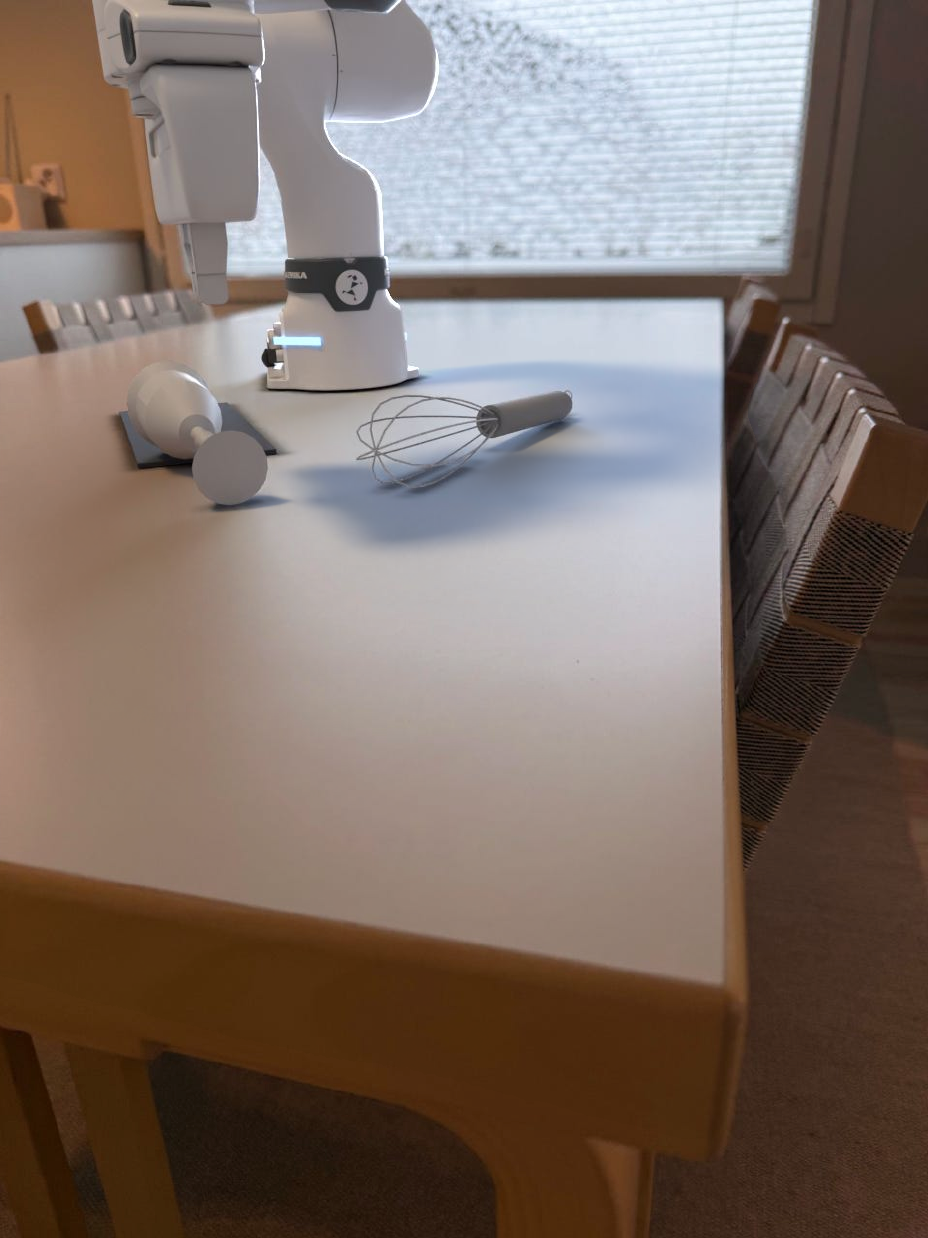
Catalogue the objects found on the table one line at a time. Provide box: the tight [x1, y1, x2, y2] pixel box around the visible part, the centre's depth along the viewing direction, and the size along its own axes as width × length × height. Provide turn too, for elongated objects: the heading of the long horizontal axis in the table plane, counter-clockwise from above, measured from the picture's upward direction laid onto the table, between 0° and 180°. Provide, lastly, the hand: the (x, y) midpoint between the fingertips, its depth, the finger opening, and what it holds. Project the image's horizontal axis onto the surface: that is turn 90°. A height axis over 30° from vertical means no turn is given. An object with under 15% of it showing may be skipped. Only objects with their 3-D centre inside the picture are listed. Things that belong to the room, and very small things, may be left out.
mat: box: [118, 401, 278, 469], centre depth 86 cm, size 26×11×1 cm, turn 22°
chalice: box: [126, 360, 269, 506], centre depth 68 cm, size 7×7×18 cm
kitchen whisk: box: [355, 389, 573, 488], centre depth 75 cm, size 6×34×6 cm, turn 151°
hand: (211, 303), depth 58 cm, fingers closed
